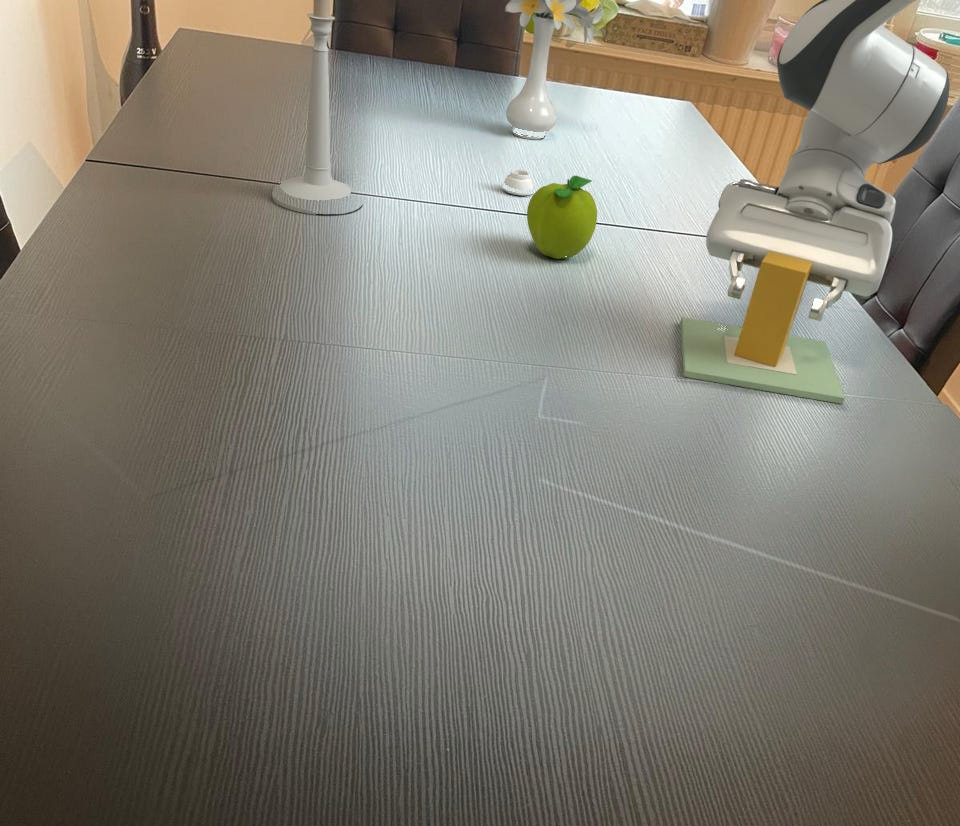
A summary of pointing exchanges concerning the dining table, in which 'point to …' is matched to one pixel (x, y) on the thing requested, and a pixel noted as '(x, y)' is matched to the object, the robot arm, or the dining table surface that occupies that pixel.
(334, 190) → the candlestick
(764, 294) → the yellow box
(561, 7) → the flower vase
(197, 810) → the dining table surface
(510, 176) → the white jar
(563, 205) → the fruit
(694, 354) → the mat
